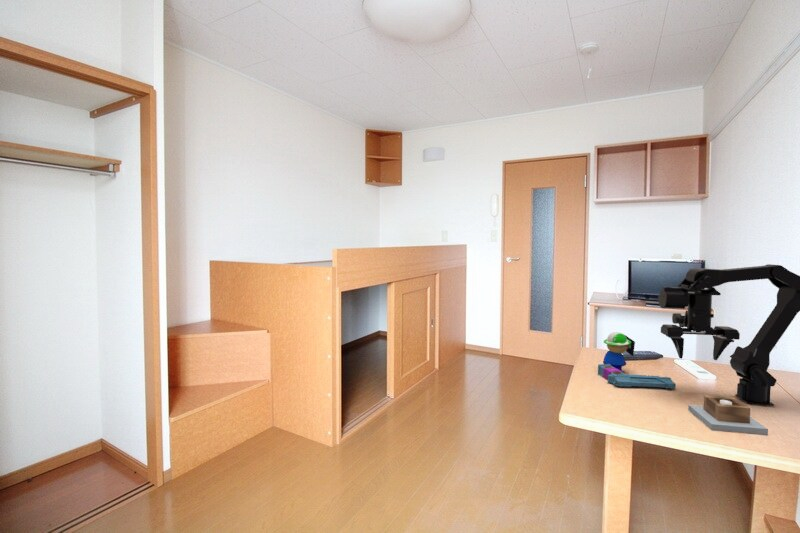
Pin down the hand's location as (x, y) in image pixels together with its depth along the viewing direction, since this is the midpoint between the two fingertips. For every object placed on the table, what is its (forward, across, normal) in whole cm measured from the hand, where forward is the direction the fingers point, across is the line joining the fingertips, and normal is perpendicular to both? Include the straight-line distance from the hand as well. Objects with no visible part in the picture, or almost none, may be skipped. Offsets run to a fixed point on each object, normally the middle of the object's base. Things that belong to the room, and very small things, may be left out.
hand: (697, 359), depth 117 cm
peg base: (+12, +1, +17) cm, 21 cm away
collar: (+10, +1, +17) cm, 20 cm away
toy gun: (+13, +14, -10) cm, 21 cm away
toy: (+12, +17, -20) cm, 29 cm away
